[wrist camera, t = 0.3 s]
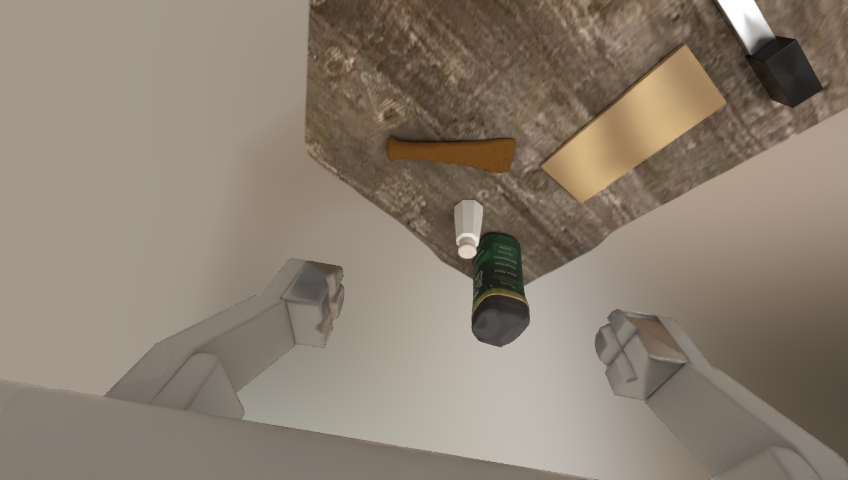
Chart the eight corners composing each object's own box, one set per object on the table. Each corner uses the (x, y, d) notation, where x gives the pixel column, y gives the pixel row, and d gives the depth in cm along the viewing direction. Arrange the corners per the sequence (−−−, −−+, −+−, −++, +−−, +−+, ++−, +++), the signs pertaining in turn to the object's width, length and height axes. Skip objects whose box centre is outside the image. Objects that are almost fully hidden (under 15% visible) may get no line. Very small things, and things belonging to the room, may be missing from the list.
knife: (696, -20, 31) (715, -21, 29) (726, -48, 30) (748, -51, 27) (772, 100, 37) (793, 108, 34) (800, 82, 35) (823, 89, 33)
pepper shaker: (489, 204, 52) (491, 246, 44) (476, 227, 55) (476, 269, 47) (460, 194, 51) (457, 234, 43) (448, 217, 55) (444, 259, 46)
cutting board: (682, 42, 34) (685, 43, 34) (723, 101, 38) (727, 103, 37) (539, 164, 46) (540, 166, 45) (580, 201, 49) (581, 203, 49)
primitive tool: (516, 137, 44) (518, 147, 41) (509, 171, 47) (511, 183, 45) (388, 132, 46) (382, 142, 43) (391, 165, 50) (386, 176, 47)
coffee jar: (485, 226, 55) (488, 309, 41) (525, 238, 55) (542, 323, 42) (467, 261, 61) (464, 343, 47) (503, 271, 62) (511, 355, 48)
